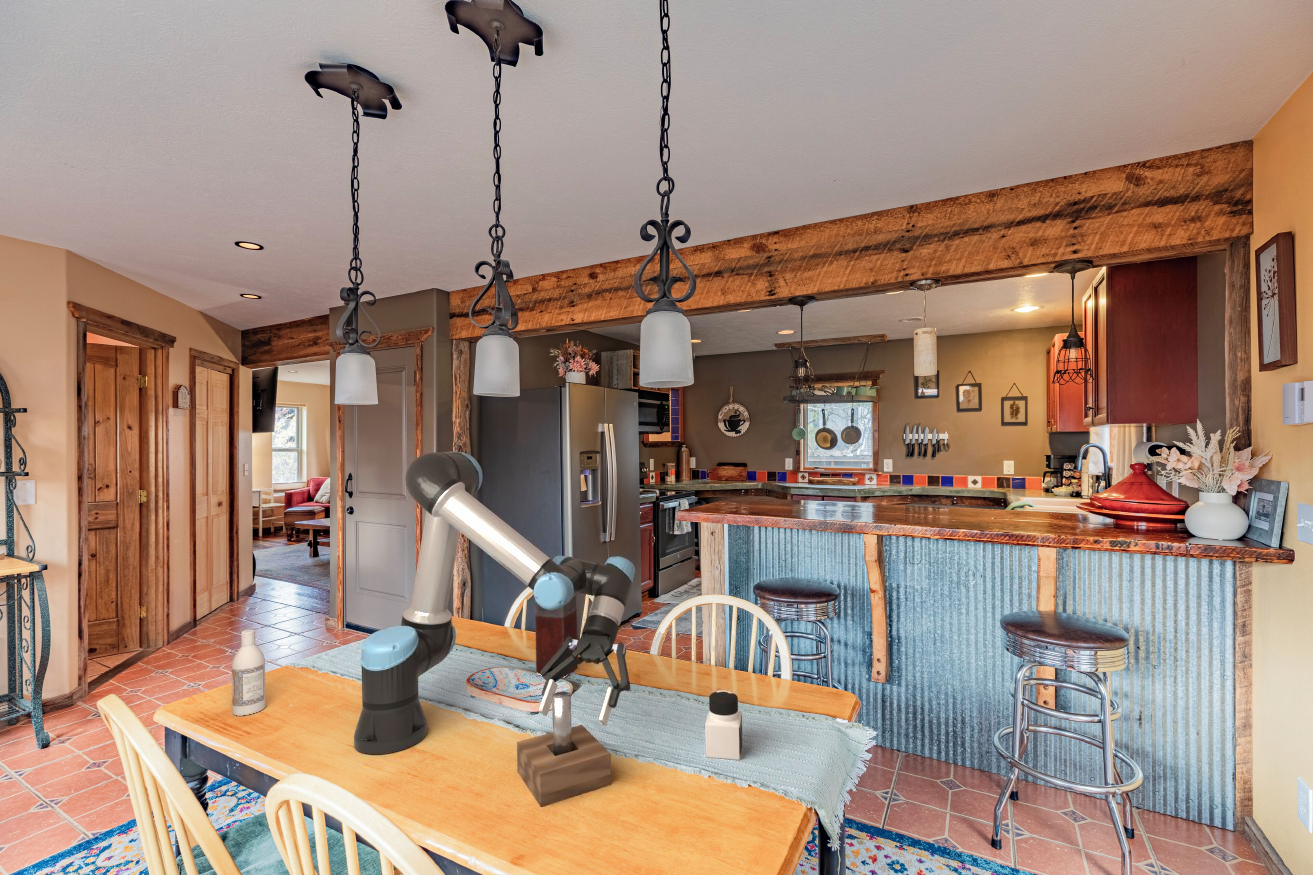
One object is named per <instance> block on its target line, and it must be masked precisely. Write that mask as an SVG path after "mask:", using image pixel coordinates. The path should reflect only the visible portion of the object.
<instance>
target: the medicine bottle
mask: <svg viewBox="0 0 1313 875" xmlns="http://www.w3.org/2000/svg"><path fill="white" fill-rule="evenodd" d="M708 699H709V700H708V704H709V706H708V713H707V717H706V720H705V724H704V727H705V728H704V730H705V731H704V732H705V735H704V736H705V757H706V758H709V759H720V760H721V759H722V760H732V761H740V760H741V757H742V752H743V751H742V750H743V712H742V711H740V710H739V698H738V695H737V694H736V693H735V692H733V691H729V690H717V691H713V692H711V693H710V695H709V697H708Z"/></svg>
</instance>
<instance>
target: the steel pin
mask: <svg viewBox="0 0 1313 875" xmlns="http://www.w3.org/2000/svg"><path fill="white" fill-rule="evenodd" d="M551 706H552V732H553V754H554V756H558V755H561V754H565V753H568V752H572V729H571V727H572V694H571V693H570V692H568V691H558V692H555V694H553V695H552V703H551Z"/></svg>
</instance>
